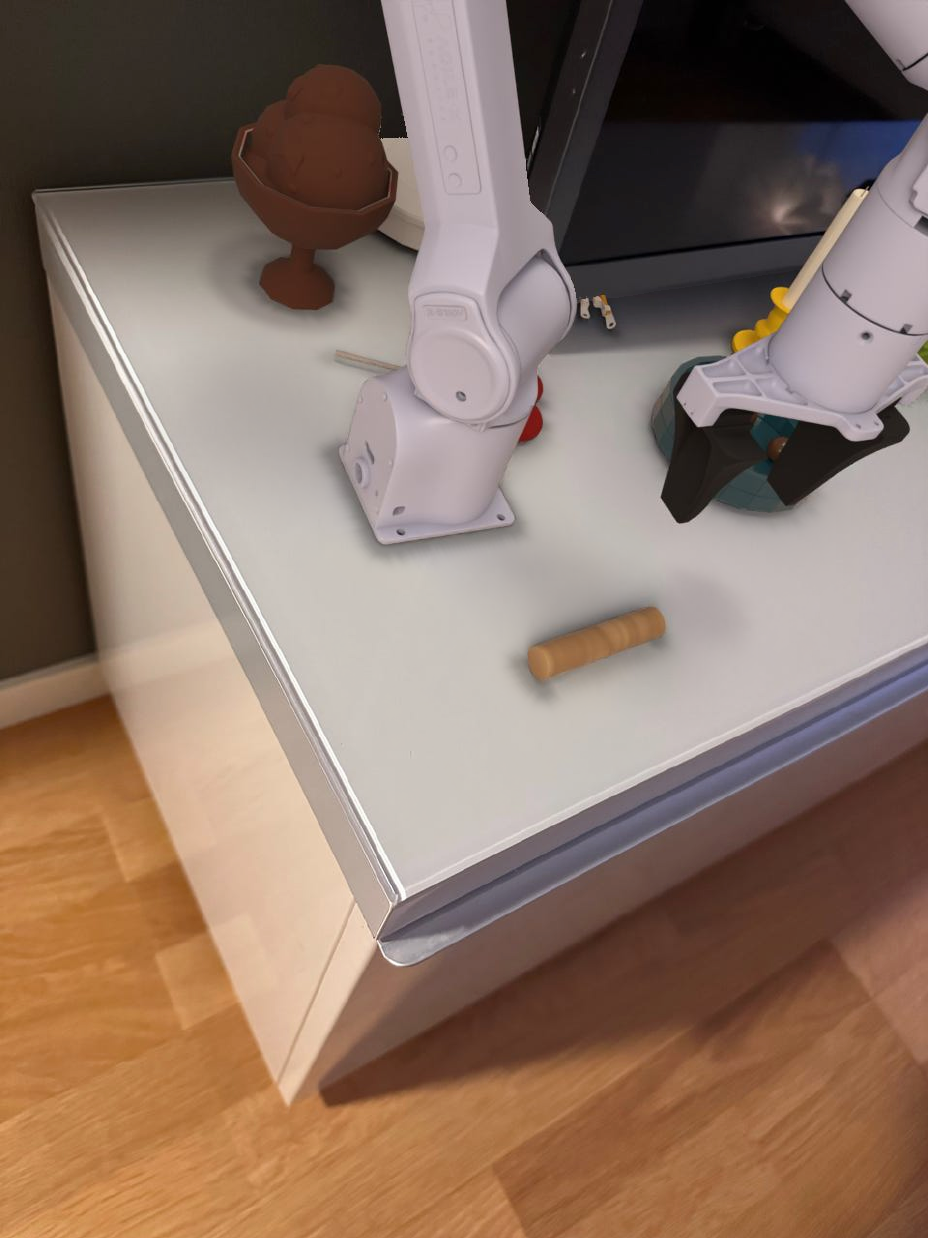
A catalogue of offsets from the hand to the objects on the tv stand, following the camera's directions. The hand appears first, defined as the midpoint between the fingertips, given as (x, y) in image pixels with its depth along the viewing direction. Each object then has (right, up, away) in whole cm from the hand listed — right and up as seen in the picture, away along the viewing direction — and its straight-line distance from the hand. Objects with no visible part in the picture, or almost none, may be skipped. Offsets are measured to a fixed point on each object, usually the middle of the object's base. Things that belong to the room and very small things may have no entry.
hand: (728, 500), depth 52 cm
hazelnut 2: (+9, +6, +19) cm, 22 cm away
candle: (+11, +16, +29) cm, 35 cm away
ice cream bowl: (-27, +18, +17) cm, 36 cm away
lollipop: (-16, +10, +15) cm, 24 cm away
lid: (-16, +29, +30) cm, 44 cm away
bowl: (+6, +6, +20) cm, 22 cm away
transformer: (-2, +26, +29) cm, 39 cm away
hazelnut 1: (+7, +9, +21) cm, 24 cm away
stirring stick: (-10, -9, +2) cm, 14 cm away
